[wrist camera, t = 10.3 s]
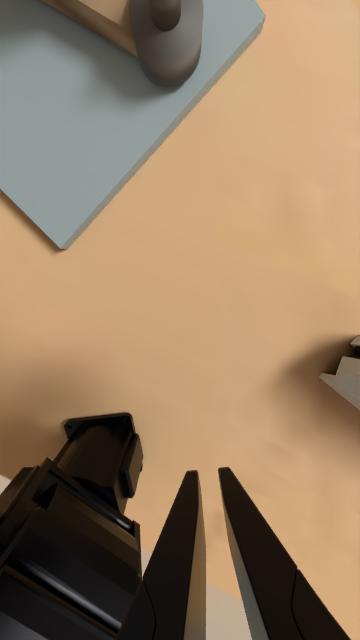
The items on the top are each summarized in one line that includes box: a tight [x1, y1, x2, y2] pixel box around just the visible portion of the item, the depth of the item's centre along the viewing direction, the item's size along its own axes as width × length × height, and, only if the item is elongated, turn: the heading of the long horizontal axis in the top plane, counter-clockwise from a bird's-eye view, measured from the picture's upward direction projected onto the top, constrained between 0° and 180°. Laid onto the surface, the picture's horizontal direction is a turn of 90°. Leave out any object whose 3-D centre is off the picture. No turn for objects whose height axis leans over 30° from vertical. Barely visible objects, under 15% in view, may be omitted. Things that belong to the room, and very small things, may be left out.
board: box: [0, 0, 266, 250], centre depth 15 cm, size 20×14×1 cm
